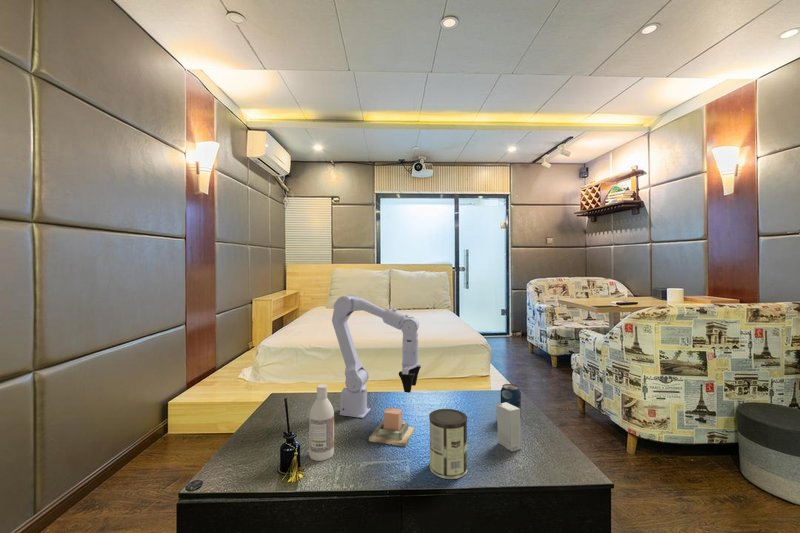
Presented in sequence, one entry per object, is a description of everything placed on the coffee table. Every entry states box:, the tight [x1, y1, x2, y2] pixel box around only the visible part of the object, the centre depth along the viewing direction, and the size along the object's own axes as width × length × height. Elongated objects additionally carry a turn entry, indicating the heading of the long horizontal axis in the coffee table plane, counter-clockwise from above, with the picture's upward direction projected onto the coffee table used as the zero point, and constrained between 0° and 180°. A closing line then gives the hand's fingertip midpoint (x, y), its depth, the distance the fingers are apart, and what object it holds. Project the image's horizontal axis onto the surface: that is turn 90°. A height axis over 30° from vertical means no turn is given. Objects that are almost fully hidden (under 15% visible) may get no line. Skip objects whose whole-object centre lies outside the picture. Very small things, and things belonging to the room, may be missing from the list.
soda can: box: [500, 383, 522, 420], centre depth 123 cm, size 7×7×12 cm
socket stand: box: [368, 419, 416, 447], centre depth 111 cm, size 12×11×3 cm
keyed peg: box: [383, 407, 403, 432], centre depth 111 cm, size 5×4×7 cm
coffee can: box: [428, 408, 468, 480], centre depth 93 cm, size 10×10×14 cm
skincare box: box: [496, 402, 522, 452], centre depth 105 cm, size 6×4×12 cm
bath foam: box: [308, 384, 335, 462], centre depth 100 cm, size 7×7×20 cm
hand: (410, 388), depth 125 cm, fingers open, 7 cm apart
